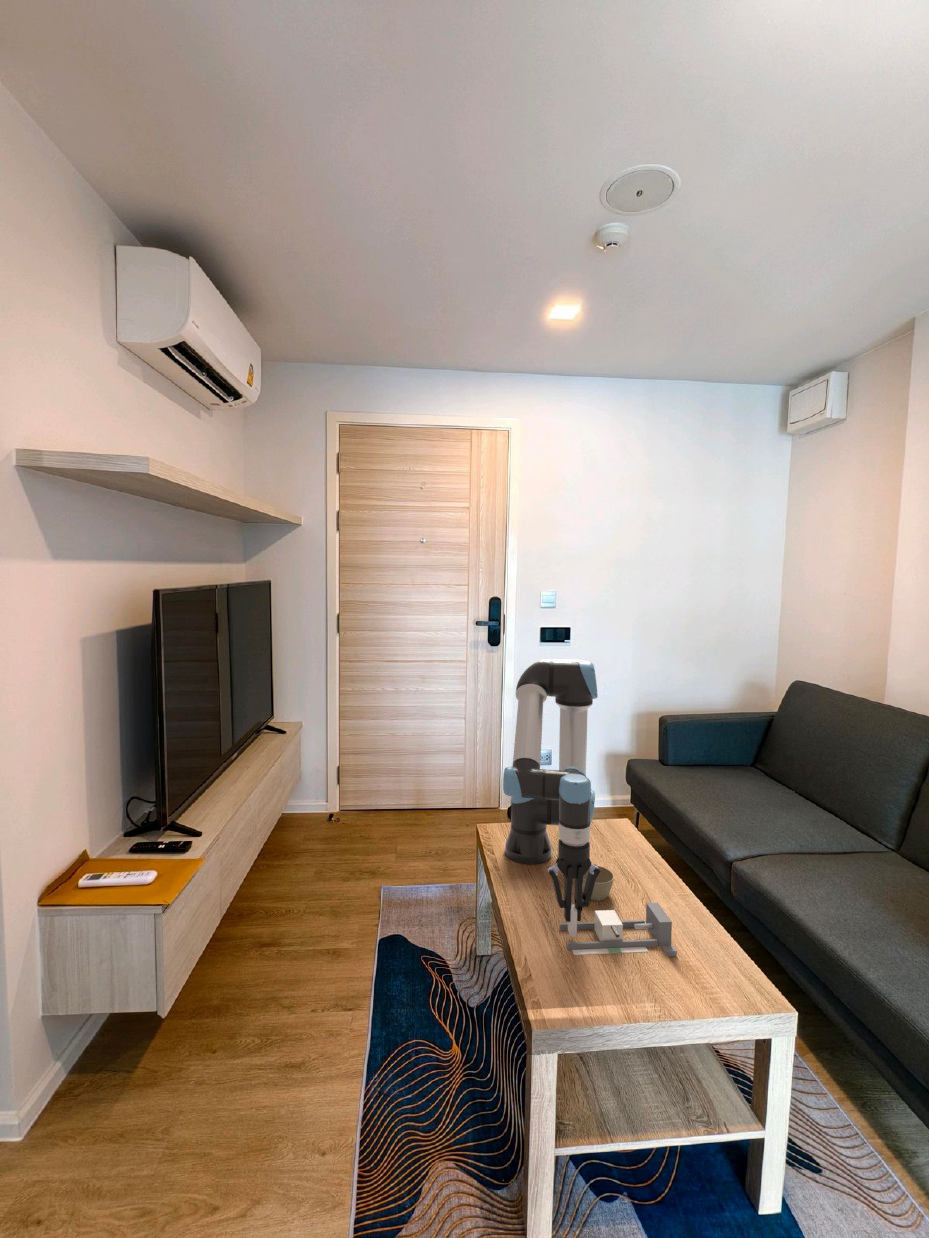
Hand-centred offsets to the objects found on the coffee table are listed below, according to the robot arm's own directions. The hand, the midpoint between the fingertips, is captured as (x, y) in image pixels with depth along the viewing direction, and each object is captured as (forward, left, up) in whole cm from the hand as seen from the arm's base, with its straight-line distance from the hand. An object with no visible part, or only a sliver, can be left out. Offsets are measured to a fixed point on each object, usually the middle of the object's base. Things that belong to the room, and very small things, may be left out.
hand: (572, 932), depth 135 cm
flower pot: (-19, +12, -3) cm, 23 cm away
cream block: (+2, +9, -1) cm, 9 cm away
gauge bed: (0, +10, -3) cm, 10 cm away
